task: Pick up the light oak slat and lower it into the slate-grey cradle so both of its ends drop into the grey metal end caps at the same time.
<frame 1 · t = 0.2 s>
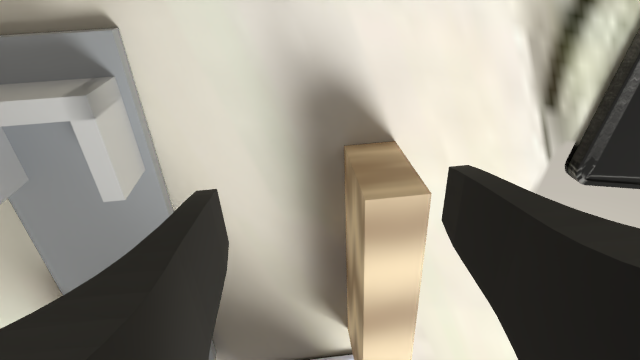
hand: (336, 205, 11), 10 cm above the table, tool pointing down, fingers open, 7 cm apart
oak slat: (367, 247, 25), on the table
end cap cradle: (114, 239, 23), on the table
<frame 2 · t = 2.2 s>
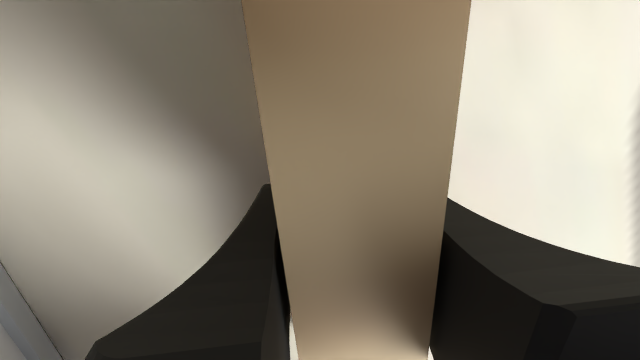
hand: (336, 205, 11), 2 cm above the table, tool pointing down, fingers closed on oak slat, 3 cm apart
oak slat: (329, 179, 13), on the table, touching gripper
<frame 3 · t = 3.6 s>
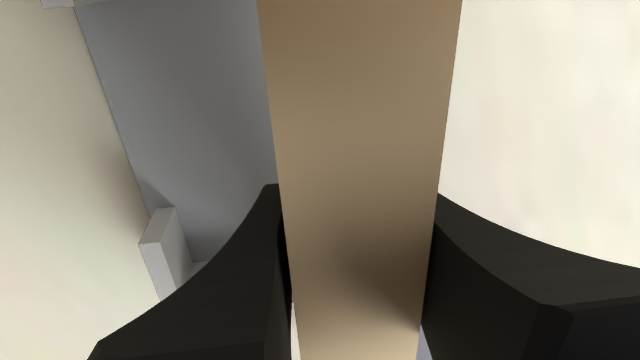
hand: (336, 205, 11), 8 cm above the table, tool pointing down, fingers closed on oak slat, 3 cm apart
oak slat: (328, 169, 13), point 6 cm above the table, touching gripper
end cap cradle: (204, 107, 18), on the table
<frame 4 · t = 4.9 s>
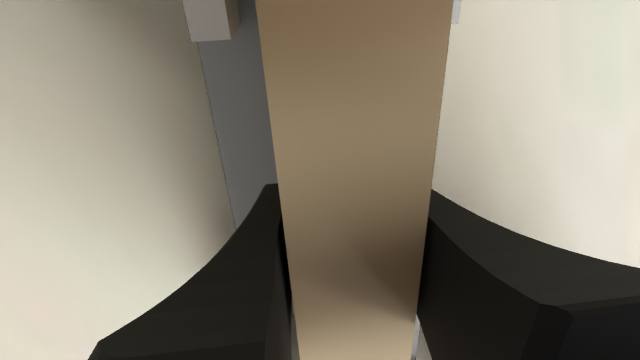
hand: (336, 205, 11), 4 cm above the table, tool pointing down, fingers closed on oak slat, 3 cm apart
oak slat: (326, 168, 14), point 2 cm above the table, touching gripper
end cap cradle: (321, 147, 15), on the table
when the fingers open (4 cm above the table, at t = 5.4 s): oak slat stays where it is, resting on end cap cradle.
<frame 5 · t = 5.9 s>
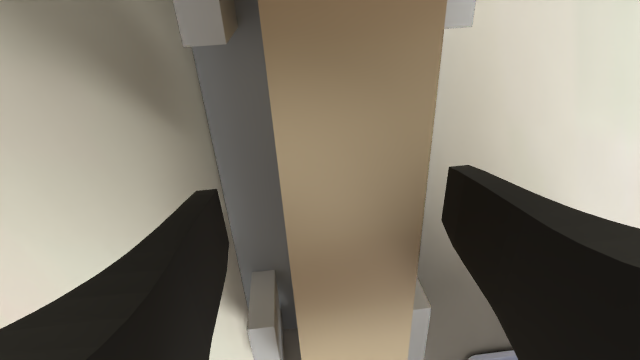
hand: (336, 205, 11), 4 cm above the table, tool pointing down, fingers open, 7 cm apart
oak slat: (326, 164, 14), point 1 cm above the table, touching end cap cradle
end cap cradle: (323, 155, 15), on the table
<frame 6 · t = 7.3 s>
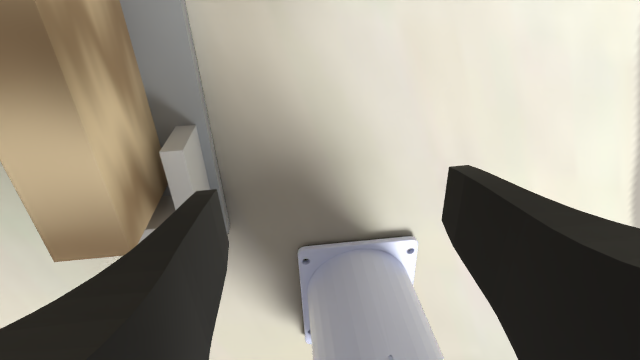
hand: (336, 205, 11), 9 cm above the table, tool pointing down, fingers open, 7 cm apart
oak slat: (88, 21, 16), point 1 cm above the table, touching end cap cradle
end cap cradle: (96, 19, 16), on the table
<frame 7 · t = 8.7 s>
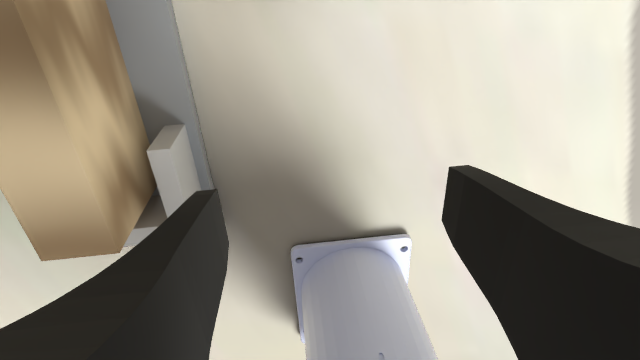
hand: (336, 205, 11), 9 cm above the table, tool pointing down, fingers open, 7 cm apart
oak slat: (75, 21, 16), point 1 cm above the table, touching end cap cradle
end cap cradle: (83, 19, 16), on the table
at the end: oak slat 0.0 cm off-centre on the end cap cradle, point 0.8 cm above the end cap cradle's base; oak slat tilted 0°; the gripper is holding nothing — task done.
